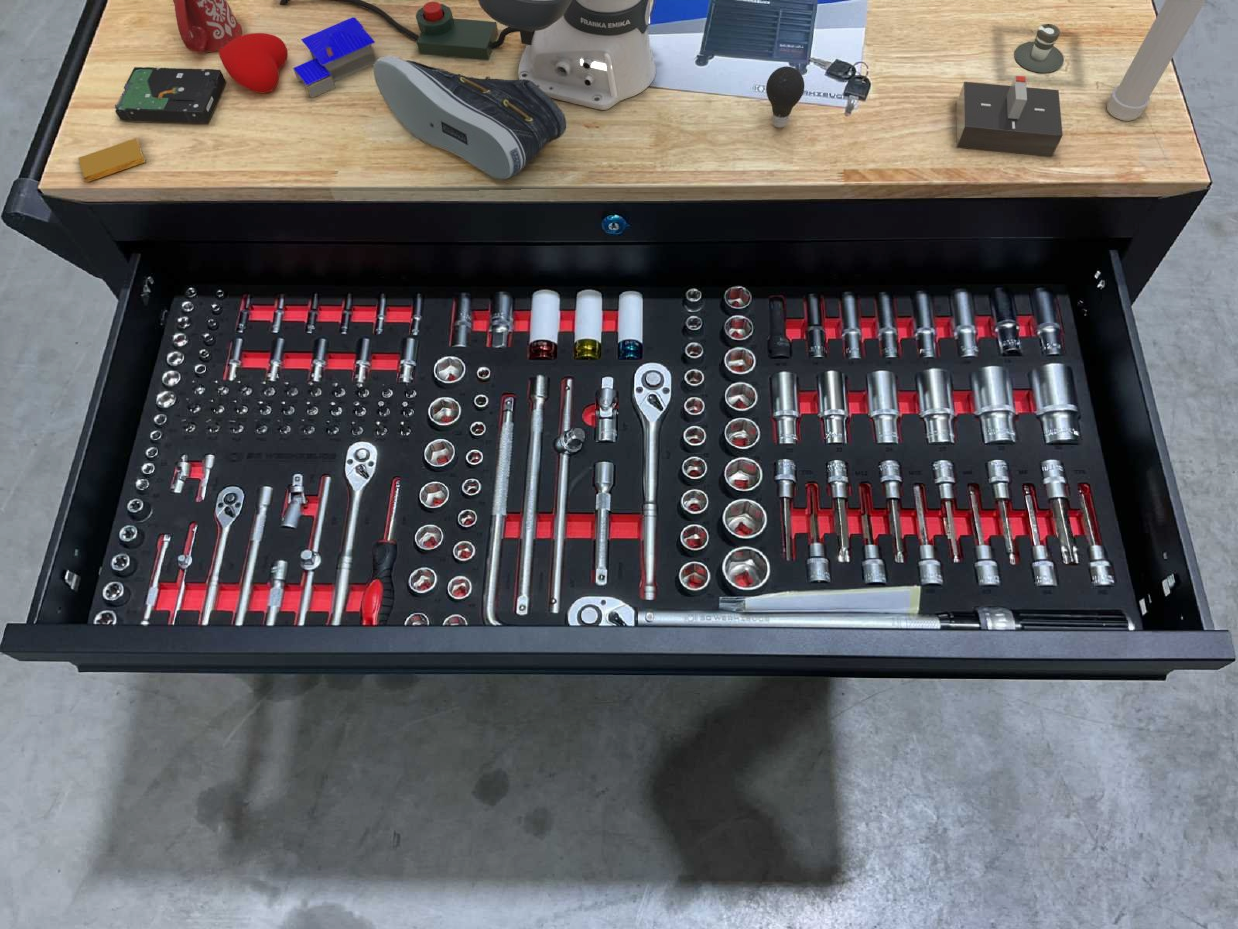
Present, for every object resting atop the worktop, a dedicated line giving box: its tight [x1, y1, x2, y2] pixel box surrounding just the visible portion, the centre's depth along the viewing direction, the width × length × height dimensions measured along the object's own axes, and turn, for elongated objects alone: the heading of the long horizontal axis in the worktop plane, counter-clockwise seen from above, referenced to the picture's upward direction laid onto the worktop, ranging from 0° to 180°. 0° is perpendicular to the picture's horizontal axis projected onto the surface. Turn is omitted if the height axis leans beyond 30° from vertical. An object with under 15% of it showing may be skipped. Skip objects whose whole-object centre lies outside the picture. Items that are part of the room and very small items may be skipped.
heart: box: [218, 32, 289, 94], centre depth 146 cm, size 12×5×10 cm
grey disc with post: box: [1014, 23, 1065, 74], centre depth 143 cm, size 12×12×5 cm
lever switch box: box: [955, 81, 1063, 158], centre depth 136 cm, size 14×10×4 cm
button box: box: [415, 3, 499, 61], centre depth 149 cm, size 13×8×4 cm, turn 80°
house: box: [292, 16, 377, 99], centre depth 147 cm, size 11×14×6 cm
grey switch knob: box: [1007, 75, 1027, 119], centre depth 132 cm, size 5×2×4 cm, turn 170°
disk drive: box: [114, 66, 227, 125], centre depth 145 cm, size 10×3×15 cm
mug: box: [172, 0, 243, 53], centre depth 147 cm, size 13×9×14 cm
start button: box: [422, 0, 443, 21], centre depth 148 cm, size 3×3×2 cm
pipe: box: [1106, 0, 1207, 122], centre depth 126 cm, size 6×6×30 cm
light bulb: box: [765, 65, 805, 129], centre depth 135 cm, size 6×6×10 cm
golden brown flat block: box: [77, 137, 146, 183], centre depth 139 cm, size 9×1×5 cm
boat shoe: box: [372, 55, 567, 180], centre depth 137 cm, size 11×30×14 cm
